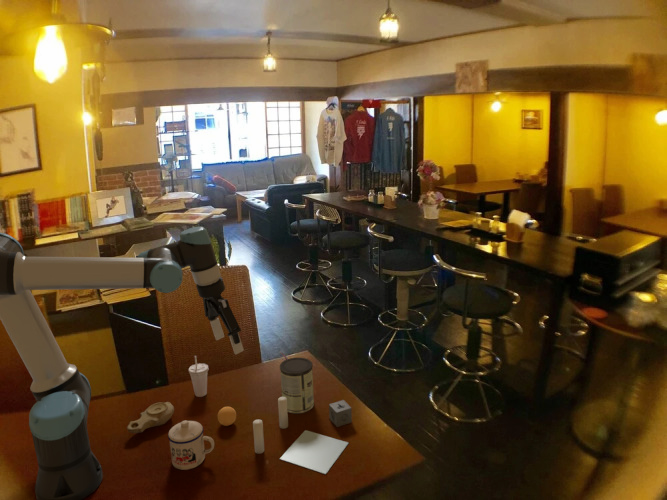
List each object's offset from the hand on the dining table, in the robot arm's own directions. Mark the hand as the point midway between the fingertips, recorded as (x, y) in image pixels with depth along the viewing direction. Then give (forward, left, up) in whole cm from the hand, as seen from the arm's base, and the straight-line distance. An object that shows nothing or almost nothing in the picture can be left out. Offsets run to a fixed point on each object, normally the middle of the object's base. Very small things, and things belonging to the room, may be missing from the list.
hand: (229, 345), depth 149 cm
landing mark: (+30, -4, -24) cm, 39 cm away
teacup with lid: (+2, -21, -24) cm, 32 cm away
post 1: (+16, -11, -24) cm, 31 cm away
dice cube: (+31, +12, -24) cm, 41 cm away
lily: (+4, +28, -24) cm, 37 cm away
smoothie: (-19, +6, -24) cm, 31 cm away
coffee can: (+14, +14, -24) cm, 31 cm away
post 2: (+16, +2, -24) cm, 29 cm away
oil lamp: (-20, -14, -24) cm, 34 cm away
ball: (0, -4, -21) cm, 22 cm away
